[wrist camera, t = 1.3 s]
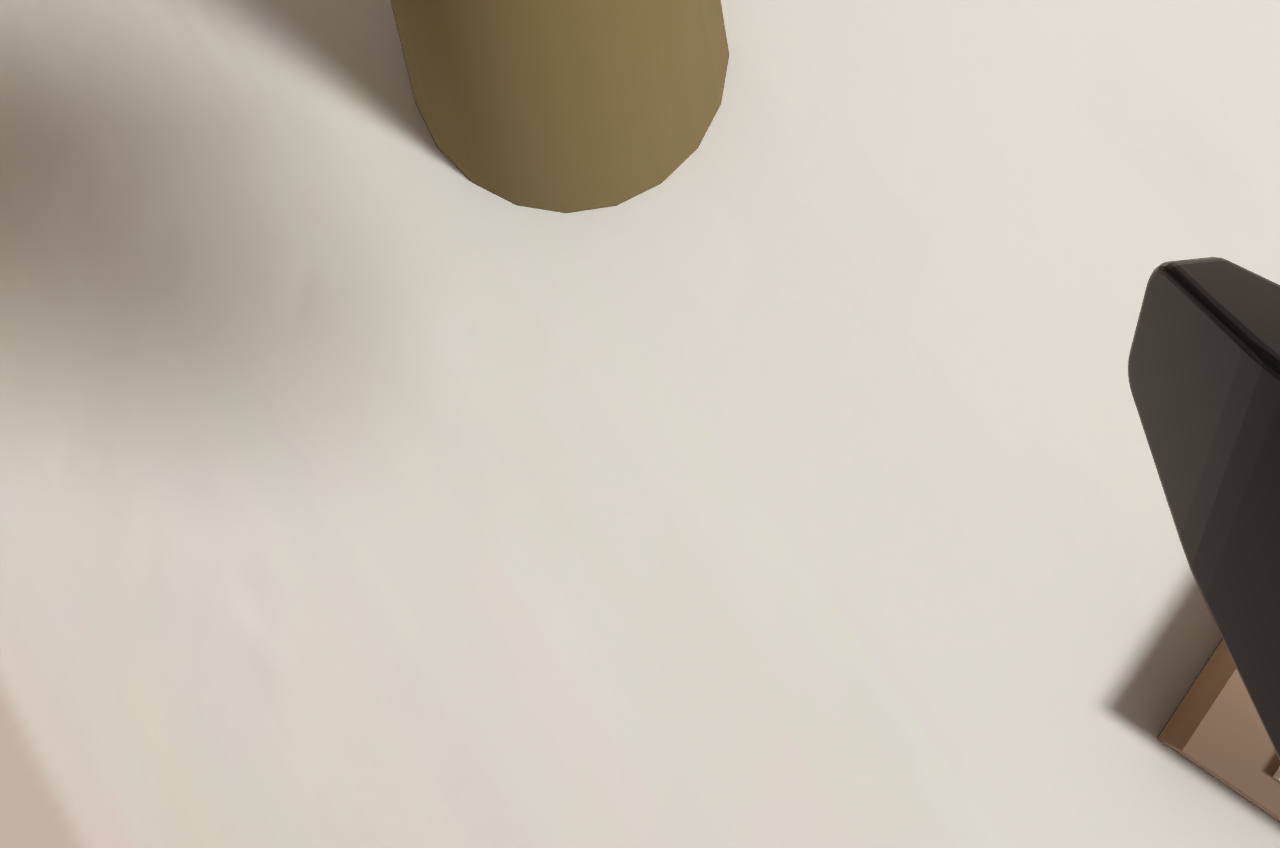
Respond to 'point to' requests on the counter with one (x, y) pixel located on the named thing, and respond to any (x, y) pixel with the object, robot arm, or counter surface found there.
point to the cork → (565, 91)
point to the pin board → (1226, 734)
